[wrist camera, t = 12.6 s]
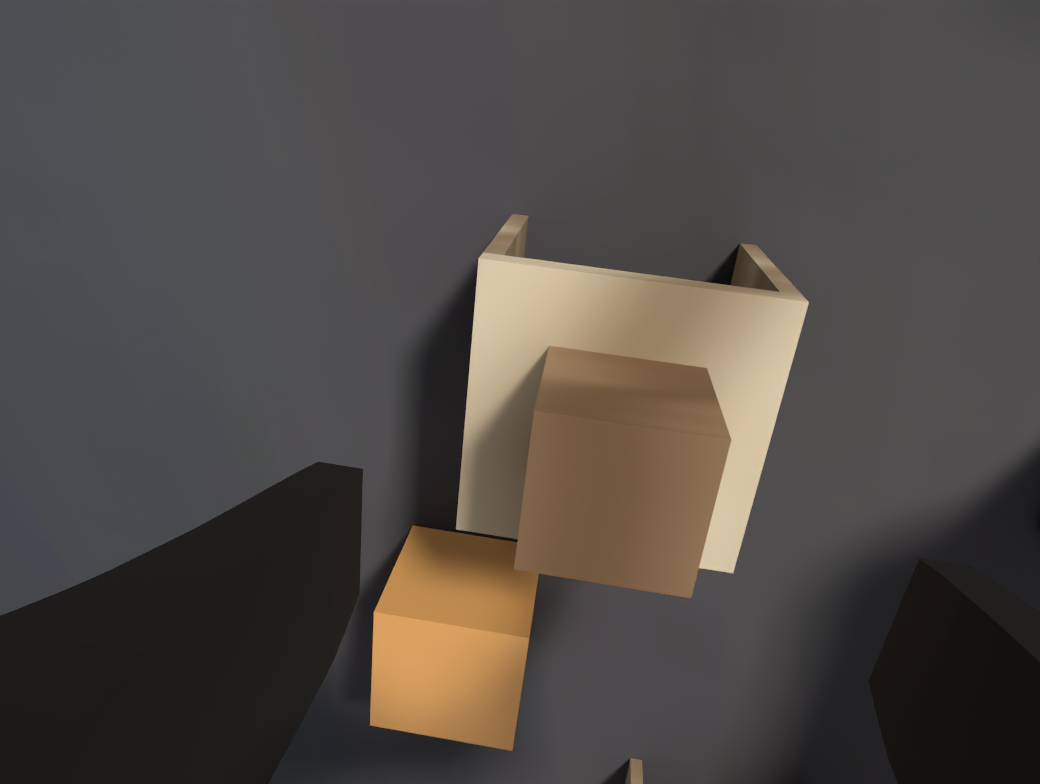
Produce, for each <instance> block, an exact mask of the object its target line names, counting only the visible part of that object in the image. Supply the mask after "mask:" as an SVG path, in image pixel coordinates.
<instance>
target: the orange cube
mask: <svg viewBox="0 0 1040 784" xmlns="http://www.w3.org/2000/svg"><path fill="white" fill-rule="evenodd" d="M516 549H517V542H512V541H506V540H500V539H493V538H487V537H481V536H475V535H469V534H463V533H456V532H450V531H444V530H438V529H432V528H426V527H419V526H412V528H411V530H410V533H409V535H408V537H407V539H406V542H405V544H404V546H403V548H402V551H401V553H400V555H399V557H398V559H397V562H396V564H395V566H394V568H393V571H392V573H391V575H390V577H389V579H388V582H387V584H386V586H385V588H384V591H383V593H382V595H381V597H380V600H379V602H378V604H377V606H376V608H375V611H374V624H373V652H372V680H371V709H370V725H371V726H377V727H382V728H388V729H393V730H399V731H404V732H410V733H416V734H421V735H427V736H432V737H438V738H443V739H449V740H454V741H460V742H465V743H471V744H477V745H482V746H488V747H493V748H499V749H504V750H510V751H512V750H513V744H514V737H515V730H516V724H517V717H518V710H519V704H520V697H521V690H522V684H523V677H524V670H525V664H526V657H527V650H528V644H529V637H530V630H531V623H532V616H533V610H534V603H535V596H536V589H537V582H538V575H539V574H538V573H532V572H526V571H520V570H514V565H515V557H516Z"/></svg>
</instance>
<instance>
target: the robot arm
mask: <svg viewBox="0 0 1040 784" xmlns="http://www.w3.org/2000/svg"><path fill="white" fill-rule="evenodd" d="M362 479H363V469H359V468H353V467H347V466H341V465H335V464H328V463H322V462H317V463H315V464H313V465H311V466H309V467H307V468H305V469H303V470H301V471H299V472H297V473H295V474H293V475H291V476H290V477H288V478H286V479H284V480H282V481H281V482H279V483H277V484H275V485H273V486H272V487H270V488H268V489H266V490H264V491H263V492H261V493H259V494H257V495H255V496H254V497H252V498H250V499H248V500H246V501H245V502H243V503H241V504H239V505H237V506H235V507H234V508H232V509H230V510H228V511H226V512H224V513H223V514H221V515H219V516H217V517H215V518H213V519H212V520H210V521H208V522H206V523H204V524H202V525H201V526H199V527H197V528H195V529H193V530H191V531H189V532H187V533H185V534H183V535H181V536H179V537H177V538H175V539H173V540H171V541H169V542H167V543H165V544H163V545H161V546H159V547H157V548H154V549H152V550H150V551H148V552H146V553H144V554H142V555H140V556H138V557H136V558H134V559H132V560H130V561H128V562H126V563H124V564H122V565H120V566H118V567H116V568H114V569H112V570H110V571H107V572H105V573H103V574H101V575H98V576H96V577H94V578H92V579H90V580H87V581H85V582H83V583H80V584H78V585H76V586H73V587H71V588H69V589H66V590H64V591H62V592H59V593H57V594H54V595H52V596H49V597H47V598H44V599H42V600H39V601H37V602H34V603H32V604H29V605H27V606H24V607H22V608H19V609H17V610H14V611H12V612H9V613H7V614H4V615H1V616H0V784H268V783H269V781H270V779H271V777H272V775H273V774H274V772H275V770H276V768H277V766H278V764H279V762H280V760H281V759H282V757H283V755H284V753H285V751H286V749H287V747H288V746H289V744H290V742H291V740H292V738H293V736H294V734H295V733H296V731H297V729H298V727H299V725H300V723H301V721H302V719H303V718H304V716H305V714H306V712H307V710H308V708H309V706H310V704H311V703H312V701H313V699H314V697H315V695H316V693H317V691H318V689H319V687H320V685H321V684H322V682H323V680H324V678H325V676H326V674H327V672H328V670H329V668H330V666H331V664H332V662H333V660H334V658H335V656H336V653H337V650H338V648H339V645H340V643H341V640H342V638H343V635H344V633H345V630H346V628H347V625H348V622H349V619H350V617H351V614H352V611H353V609H354V606H355V603H356V601H357V598H358V595H359V589H360V552H361V516H362ZM869 683H870V688H871V692H872V696H873V700H874V705H875V709H876V713H877V717H878V722H879V725H880V729H881V733H882V736H883V740H884V744H885V747H886V751H887V755H888V758H889V761H890V764H891V766H892V769H893V772H894V774H895V777H896V780H897V782H898V784H1040V613H1039V612H1038V611H1036V610H1035V609H1033V608H1032V607H1030V606H1029V605H1028V604H1026V603H1025V602H1023V601H1022V600H1020V599H1019V598H1018V597H1016V596H1015V595H1013V594H1012V593H1010V592H1009V591H1007V590H1006V589H1004V588H1003V587H1001V586H1000V585H998V584H997V583H995V582H994V581H992V580H990V579H989V578H987V577H986V576H984V575H982V574H981V573H979V572H977V571H976V570H974V569H972V568H970V567H967V566H960V565H954V564H948V563H942V562H936V561H929V560H923V559H919V561H918V564H917V566H916V568H915V571H914V573H913V576H912V578H911V580H910V583H909V585H908V588H907V590H906V592H905V595H904V597H903V600H902V602H901V605H900V607H899V609H898V612H897V614H896V617H895V619H894V621H893V624H892V626H891V629H890V631H889V633H888V636H887V638H886V641H885V643H884V646H883V648H882V650H881V653H880V655H879V658H878V660H877V662H876V665H875V667H874V670H873V672H872V674H871V677H870V679H869Z"/></svg>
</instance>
